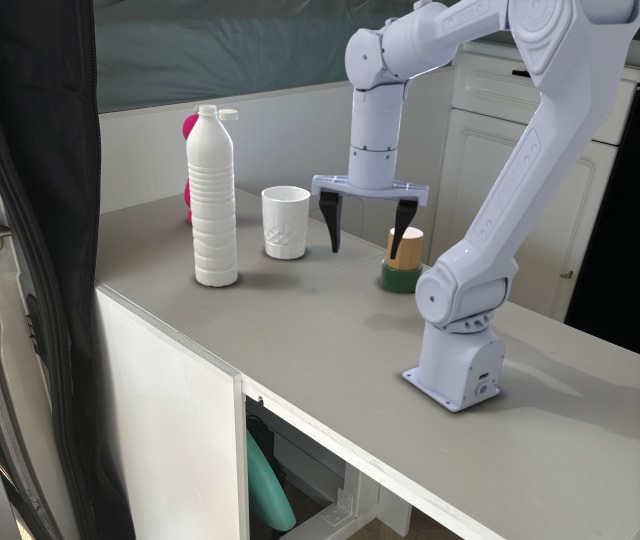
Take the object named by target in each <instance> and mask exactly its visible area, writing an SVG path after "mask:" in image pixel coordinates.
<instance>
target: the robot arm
mask: <svg viewBox="0 0 640 540" xmlns="http://www.w3.org/2000/svg"><path fill="white" fill-rule="evenodd" d="M639 29H640V0H460V1H458V2H457V3H455V4H453V5H451V6H450V7H448V6H447V5H445V4H443V3H441V2H438V1H433V0H418V1H416V2H414V3H413V10H412V11H411V12H410V13H408V14H406V15H403V16H402V17H389V18H388V19H386V20H385V22H384V26H383V27H381V28H380V29H377V30H376V29H375V30H374V29H373V30H372V29H369V28H359V29H357V30H356V32H355V33H353V35H352V36H351V37H350V38H349V41H348V43H347V45H346V49H345V53H344V66H345V67H344V68H345V72H346V76H347V78H348V81H349V83H350V84H351V85H352V87H353V95H352V96H353V97H352V98H353V99H352V110H351V111H352V112H351V113H352V114H351V127H350V128H351V129H350V142H349V143H350V144H349V159H348V171H347V172H348V173H347V175H319V174H317V175H314V176H313V178H312V179H311V195H312V196H319V200H318V208H319V210H320V212H321V214H322V217H323V218H324V221H325V224H326V227H327V230H328V233H329V238H330V244H331V253H333V254H338V253H339V250H340V247H341V220H342V210H343V198H344V197H345V198H346V197H348V198H357V199H366V200H377V201H386V202H387V201H388V202H397V204H396V205H397V206H396V210H395V218H394V220H395V221H394V228H395V229H394V238H393V243H392V248H391V253H390V259H393V260H395V258H396V254H397V250H398V247H399V244H400V242H401V239H402V237H403V235H404V233H405V231H406V229H407V228H408V227H410V224H411V223H412V221H413V220H414V218H415V216H416V214H417V211H418V207H419V206H420V207H427V206H428V205H427V204H428V198H429V191H430V186H428V185H422V184H415V183H411V182H406V181H401V180H397V179H395V173H396V164H397V156H398V155H397V154H398V145H399V135H400V127H401V118H402V110H403V109H402V108H403V104H405V102H406V100H407V99H408V94H409V93H408V92H409V87H410V85H411V83H412V82H413V80H414V78H416V77H417V76H419V75H422V74H425V73H427V72H430V71H433V70H435V69H438V68H440V67H443V66H445V65H447V64H449V63H450V62H451V61H452V60H453V59H454V58H455V56H456V54H457V51H458V49H459V45H462V44H465V43H468V42H471V41H474V40H476V39H479V38H482V37H485V36H488V35H490V34H491V35H492V34H494V33H497V32H499V31H503V32H509V31H510V32H511V35H512V38H513V40H514V43H515V44H516V47H517V49H518V52H519V54H520V56H521V58H522V60H523V62H524V65H525V67H526V69H527V72H528V74H529V76H530V78H531V80H532V83H533V85H534V87H535V88H536V89H537V90H538V91H539V94H540V104H539V106H538V107H537V109H536V111H535V112H534V115H533V116H532V117H531V120H530V122H529V123H528V124H527V127H526V128H525V130H524V132H523V134H522V135H521V137H520V139H519V140H518V142H517V144H516V146H515V147H514V149H513V151H512V153H511V155H510V156H509V158H508V160H507V161H506V162H505V164H504V167H503V169H502V170H501V172H500V174H499V175H498V177H497V179H496V180H495V183H494V184H493V186H492V188H491V190H490V191H489V193H488V195H487V196H486V199H485V200H484V201H483V203H482V205H481V207H480V209H479V211H478V213H477V214H476V216H475V217H474V219H473V221H472V223H471V224H470V226H469V228H468V229H467V232H466V233H465V235H464V237H463V238H462V239H461V240H460V241H459V242H457V243H456V244H455V245H453V246H451V247H450V248H449V249H448V250H446V251H445V252H443V253H442V254H441V255H440V256H439V257H438V258H437V259H436V261H435V263H434V265H432V267H431V268H430V269H428V270H426V271H424V272H422V275H421V276H420V277H419V279H418V282H417V285H416V291H414V292H415V293H414V294H415V303H416V306H417V309H418V311H419V313H420V315H421V318H422V319H423V320H425V323H424V329H423V336H422V341H421V347H420V348H421V349H420V355H419V360H418V366H417V367H414V368H411V369H408V370H406V371H403V372H402V373H401V377H403V378H404V380H406V381H408V382H409V383H411V384H412V385H413V386H415V387H416V388H418V389H419V390H420V391H422V392H423V393H425V394H426V395H427V396H429V397H430V398H432V399H433V400H435V401H436V402H437V403H438V404H440V405H442V406H443V407H444V408H446V409H447V410H449V411H450V412H452V413H457V412H459V411H462V410H465V409H467V408H469V407H471V406H474V405H476V404H478V403H480V402H483V401H485V400H489V399H490V398H492V397H495V396H498V395H499V394H500V392H501V391H500V389H499V388H498V384H499V379H500V375H501V371H502V367H503V364H504V363H503V362H504V359H505V355H506V346H505V343H504V342H503V340H502V339H501V338H499V337H498V336H497V335H496V334H495V333H494V331H493V329H492V328H491V325H490V321H491V320H493V319H494V318H495V313H496V310H497V309H499V308H501V307H502V306H504V305H505V304H506V303H507V301H508V299H509V297H510V294H511V289H512V284H513V280H514V278H515V276H516V275H517V273H519V270H520V267H519V265H518V262H517V261H516V258H515V257H514V256H515V254H516V253H517V251H518V250H519V248H520V247H521V245H522V244H523V242H524V241H525V240H526V238H527V237H528V235H529V234H530V232H531V230H533V228H534V226H535V225H536V224H537V222H538V220H539V219H540V217H542V214H543V213H544V211H545V210H546V208H547V207H548V205H549V204H550V202H551V201H552V199H553V198H554V196H555V194H556V193H557V192H558V190H559V189H560V187H562V184H563V183H564V182H565V180H566V178H567V177H568V175H569V174H570V172H571V171H572V170H573V168H574V166H575V165H576V164H577V162H578V161H579V159H580V157H581V156H582V155H583V154H584V151H586V149H587V147H588V146H589V144H590V143H591V142H592V140H593V138H594V137H595V135H596V134H597V132H598V131H599V129H600V128H601V126H602V125H603V123H604V121H605V120H606V119H607V117H608V116H609V114H610V113H611V111H612V109H613V107H614V105H615V103H616V100H617V97H618V96H617V95H618V93H619V92H618V91H619V87H620V84H621V80H622V75H623V72H624V68H625V63H626V60H627V55H628V51H629V47H630V44H631V41H632V40H633V38H634V36H635V35H636V33H637V32H638V30H639Z"/></svg>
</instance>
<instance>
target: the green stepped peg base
mask: <svg viewBox="0 0 640 540" xmlns="http://www.w3.org/2000/svg"><path fill="white" fill-rule="evenodd" d="M386 258H387V257H385V258H384V259H383V260H382V262H381V269H380V270H381V271H380V272H381V273H380V282H379V284H380V286H381V287H382V288H383V289H385V290H387V291H389V292H393V293H398V294H410V293H414V292H416V285H417V282H418V279H419V277H420V276H421V275H422V274H423V271H424V264H423V262H422V261H420V263H419V266H418V267H417V268H416V269H412V270H398V269H395V268H392V267H390V266H389V265H388V264H387V263H386Z"/></svg>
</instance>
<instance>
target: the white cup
mask: <svg viewBox="0 0 640 540" xmlns="http://www.w3.org/2000/svg"><path fill="white" fill-rule="evenodd" d="M310 199H311V193H310V192H309V191H308V190H306V189H304V188H302V187H296V186H290V185H289V186H288V185H279V186H271V187H267V188H265V189H262V191H261V208H262V224H263V237H264V248H265V249H264V250H265V253H266V255H268V256H269V257H271V258H275V259H279V260H294V259H298V258H300V257H303V256H304V254H305V253H306V239H307V235H308V223H309V213H310V211H309V210H310Z"/></svg>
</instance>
